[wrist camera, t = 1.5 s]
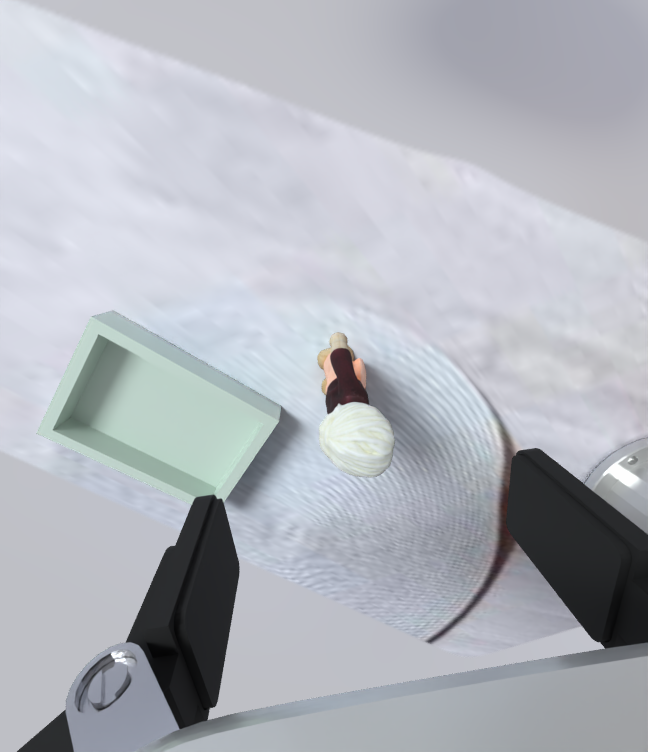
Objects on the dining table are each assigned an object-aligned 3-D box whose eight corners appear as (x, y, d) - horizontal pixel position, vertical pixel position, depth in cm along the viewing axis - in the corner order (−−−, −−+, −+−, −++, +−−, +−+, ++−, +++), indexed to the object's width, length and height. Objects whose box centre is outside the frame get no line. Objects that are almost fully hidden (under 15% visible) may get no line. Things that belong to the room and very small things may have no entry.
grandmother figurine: (373, 403, 27) (429, 517, 15) (326, 416, 27) (346, 539, 15) (349, 310, 25) (393, 358, 13) (298, 325, 25) (295, 387, 13)
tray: (281, 406, 27) (279, 421, 24) (222, 493, 29) (214, 515, 27) (112, 310, 24) (91, 316, 21) (61, 417, 26) (36, 433, 24)
